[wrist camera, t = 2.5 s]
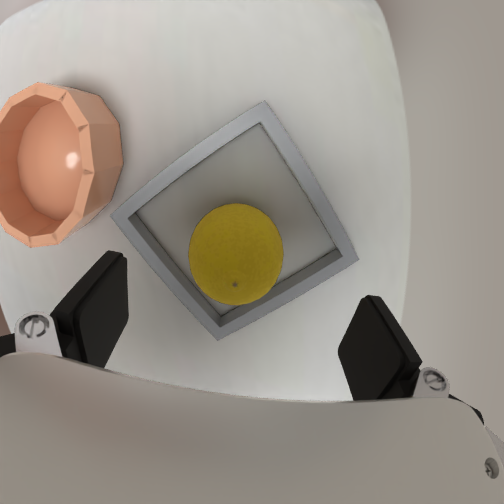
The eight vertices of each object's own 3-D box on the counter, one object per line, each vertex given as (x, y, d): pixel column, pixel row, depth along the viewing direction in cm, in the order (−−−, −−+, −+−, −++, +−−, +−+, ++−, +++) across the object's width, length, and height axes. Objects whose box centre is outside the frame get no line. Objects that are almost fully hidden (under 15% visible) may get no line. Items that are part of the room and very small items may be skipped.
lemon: (273, 264, 22) (288, 330, 14) (201, 264, 22) (182, 330, 14) (276, 192, 20) (298, 228, 12) (197, 192, 19) (170, 228, 12)
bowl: (150, 167, 18) (125, 176, 14) (62, 250, 21) (34, 273, 16) (77, 62, 15) (44, 52, 10) (3, 157, 17) (-30, 165, 13)
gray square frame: (352, 251, 21) (359, 259, 20) (218, 329, 24) (217, 340, 23) (263, 103, 17) (264, 100, 16) (118, 209, 20) (109, 215, 18)
